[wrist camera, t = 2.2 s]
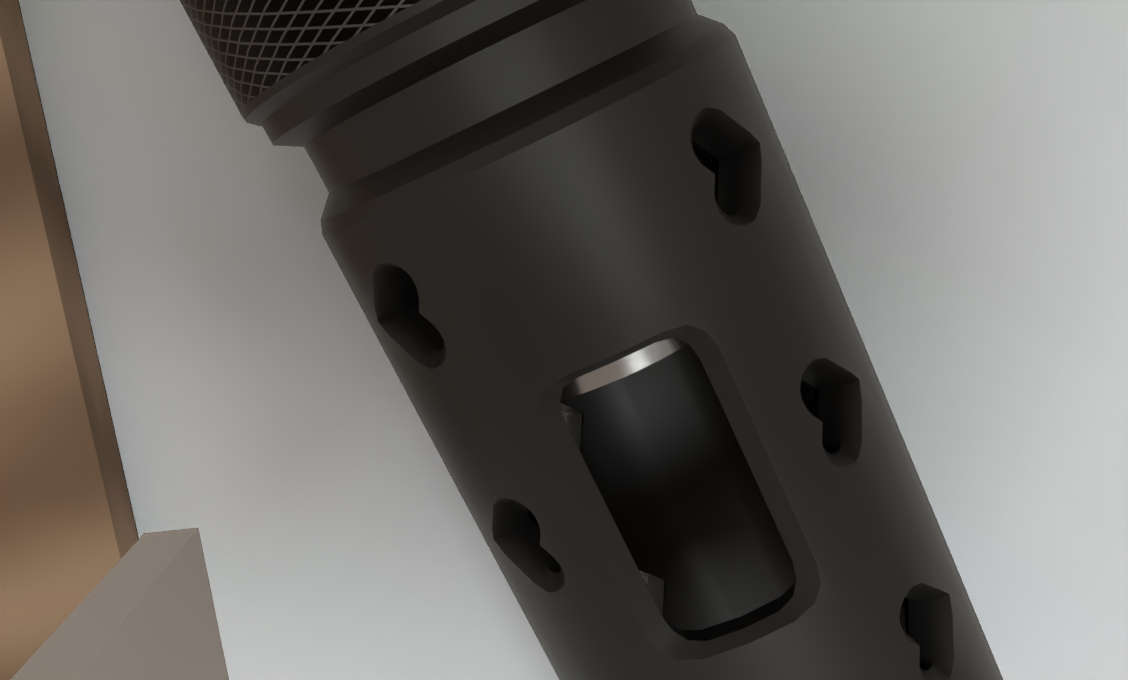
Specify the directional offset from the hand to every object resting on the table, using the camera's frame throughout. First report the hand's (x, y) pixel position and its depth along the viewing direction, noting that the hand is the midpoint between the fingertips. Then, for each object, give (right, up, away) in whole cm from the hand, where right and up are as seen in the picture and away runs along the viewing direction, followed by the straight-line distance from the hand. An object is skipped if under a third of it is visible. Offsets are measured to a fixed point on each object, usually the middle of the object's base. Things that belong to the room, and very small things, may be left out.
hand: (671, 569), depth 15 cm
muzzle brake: (0, +4, +13) cm, 14 cm away
